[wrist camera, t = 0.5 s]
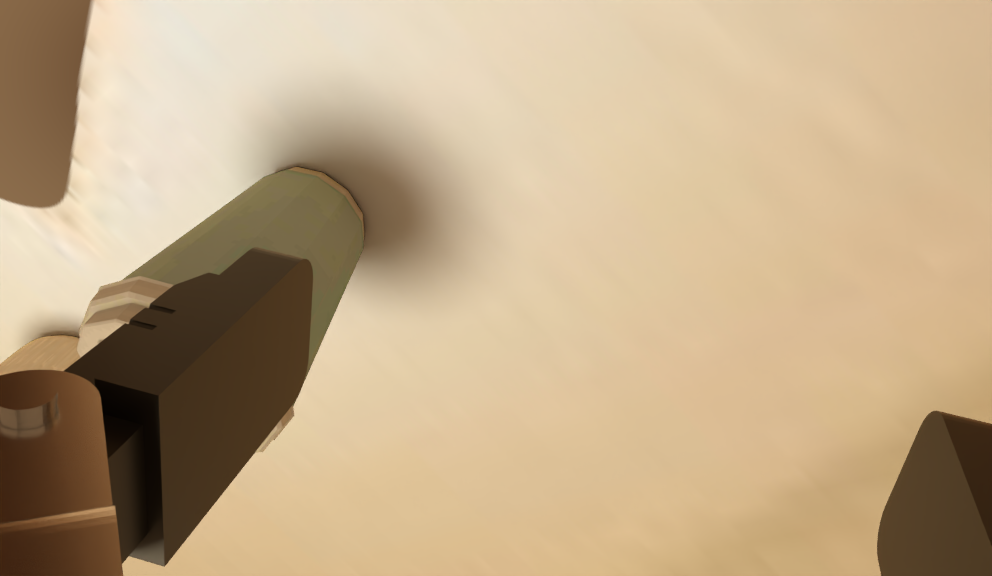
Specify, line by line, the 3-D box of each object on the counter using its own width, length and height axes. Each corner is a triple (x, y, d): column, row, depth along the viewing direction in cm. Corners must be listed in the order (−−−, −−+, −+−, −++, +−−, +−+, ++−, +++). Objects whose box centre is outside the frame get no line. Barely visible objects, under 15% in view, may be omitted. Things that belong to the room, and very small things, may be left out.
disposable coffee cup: (379, 308, 55) (261, 508, 44) (217, 237, 55) (61, 419, 45) (416, 179, 48) (286, 382, 37) (230, 96, 48) (46, 276, 37)
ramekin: (97, 307, 64) (33, 377, 59) (207, 433, 71) (157, 505, 66) (-12, 333, 71) (-78, 398, 66) (98, 446, 77) (46, 513, 72)
